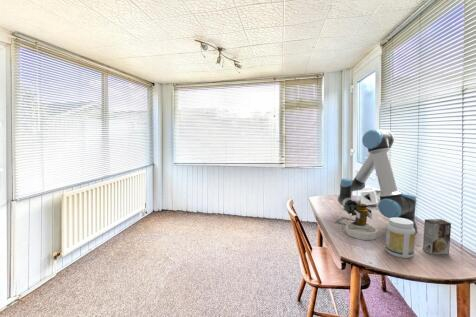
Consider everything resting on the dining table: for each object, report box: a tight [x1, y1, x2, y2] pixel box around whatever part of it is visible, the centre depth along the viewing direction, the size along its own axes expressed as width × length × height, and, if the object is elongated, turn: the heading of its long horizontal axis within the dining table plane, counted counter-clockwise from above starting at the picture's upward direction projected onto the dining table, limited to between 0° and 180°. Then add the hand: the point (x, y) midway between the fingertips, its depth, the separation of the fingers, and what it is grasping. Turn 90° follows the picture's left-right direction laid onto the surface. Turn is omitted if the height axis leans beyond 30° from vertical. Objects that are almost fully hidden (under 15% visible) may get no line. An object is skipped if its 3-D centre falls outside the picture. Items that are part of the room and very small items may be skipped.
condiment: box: [350, 202, 370, 227], centre depth 150 cm, size 7×8×12 cm
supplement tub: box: [385, 217, 416, 259], centre depth 126 cm, size 12×12×17 cm
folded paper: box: [360, 184, 381, 206], centre depth 217 cm, size 17×24×17 cm
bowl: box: [344, 222, 379, 241], centre depth 151 cm, size 17×17×4 cm
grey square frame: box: [334, 216, 355, 226], centre depth 171 cm, size 14×14×1 cm
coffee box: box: [422, 218, 452, 255], centre depth 128 cm, size 9×6×16 cm
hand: (365, 216), depth 145 cm, fingers closed on condiment, 6 cm apart
